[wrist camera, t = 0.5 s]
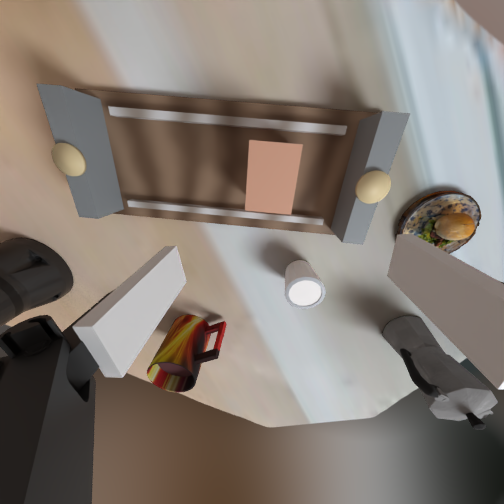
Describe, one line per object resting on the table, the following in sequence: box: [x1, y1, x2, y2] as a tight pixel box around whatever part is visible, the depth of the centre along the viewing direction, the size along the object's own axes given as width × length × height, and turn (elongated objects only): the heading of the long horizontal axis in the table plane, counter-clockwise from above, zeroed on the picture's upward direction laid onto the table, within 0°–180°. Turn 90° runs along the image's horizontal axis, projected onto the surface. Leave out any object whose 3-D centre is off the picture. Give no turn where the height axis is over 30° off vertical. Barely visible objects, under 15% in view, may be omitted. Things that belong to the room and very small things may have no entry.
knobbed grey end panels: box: [37, 84, 410, 245], centre depth 28 cm, size 44×16×7 cm, turn 86°
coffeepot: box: [382, 316, 498, 430], centre depth 36 cm, size 15×9×18 cm, turn 63°
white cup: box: [285, 260, 326, 309], centre depth 37 cm, size 7×7×7 cm
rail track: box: [75, 89, 377, 235], centre depth 31 cm, size 44×18×2 cm, turn 86°
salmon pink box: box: [245, 140, 303, 215], centre depth 27 cm, size 6×8×8 cm
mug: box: [147, 315, 226, 392], centre depth 43 cm, size 10×14×12 cm
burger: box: [395, 191, 481, 254], centre depth 31 cm, size 12×12×8 cm
